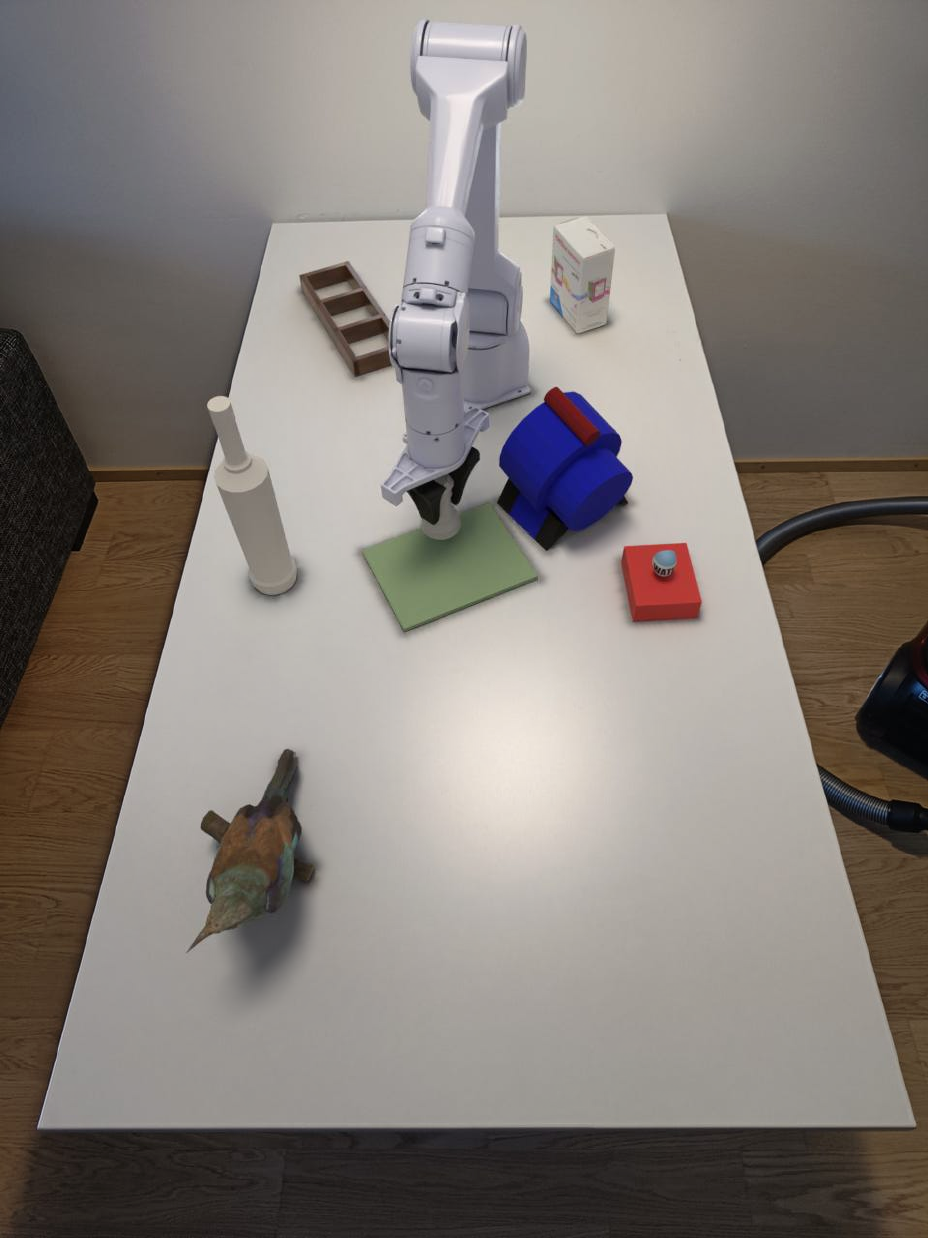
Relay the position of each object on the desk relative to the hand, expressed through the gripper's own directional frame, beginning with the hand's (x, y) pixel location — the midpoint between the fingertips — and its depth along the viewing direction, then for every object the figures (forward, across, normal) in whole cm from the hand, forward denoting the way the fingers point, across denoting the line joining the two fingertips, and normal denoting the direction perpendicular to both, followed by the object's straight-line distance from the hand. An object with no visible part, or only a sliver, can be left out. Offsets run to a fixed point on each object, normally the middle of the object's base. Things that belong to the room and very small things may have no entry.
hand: (440, 509), depth 97 cm
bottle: (+5, +16, -11) cm, 20 cm away
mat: (+5, +3, +3) cm, 6 cm away
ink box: (+5, -43, -12) cm, 45 cm away
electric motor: (+5, -13, +8) cm, 16 cm away
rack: (+5, -22, -35) cm, 42 cm away
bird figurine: (+5, +39, +12) cm, 41 cm away
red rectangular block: (+5, -9, +23) cm, 25 cm away
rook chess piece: (+3, 0, 0) cm, 3 cm away
